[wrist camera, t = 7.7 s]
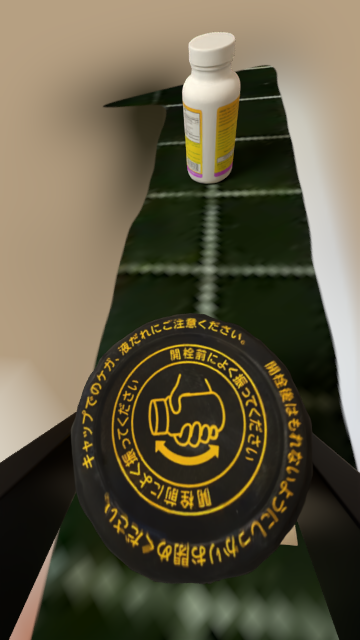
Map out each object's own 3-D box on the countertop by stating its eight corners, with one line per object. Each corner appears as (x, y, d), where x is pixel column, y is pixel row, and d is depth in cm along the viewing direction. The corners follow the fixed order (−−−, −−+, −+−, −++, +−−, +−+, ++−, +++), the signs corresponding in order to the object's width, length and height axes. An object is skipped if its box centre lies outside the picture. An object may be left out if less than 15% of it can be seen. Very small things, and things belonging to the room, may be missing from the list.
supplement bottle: (233, 159, 34) (248, 25, 23) (229, 186, 32) (244, 51, 20) (191, 158, 35) (185, 30, 24) (184, 185, 33) (173, 56, 21)
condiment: (195, 352, 17) (195, 241, 6) (284, 443, 14) (558, 523, 4) (121, 420, 16) (-48, 424, 5) (205, 538, 13) (265, 1254, 2)
